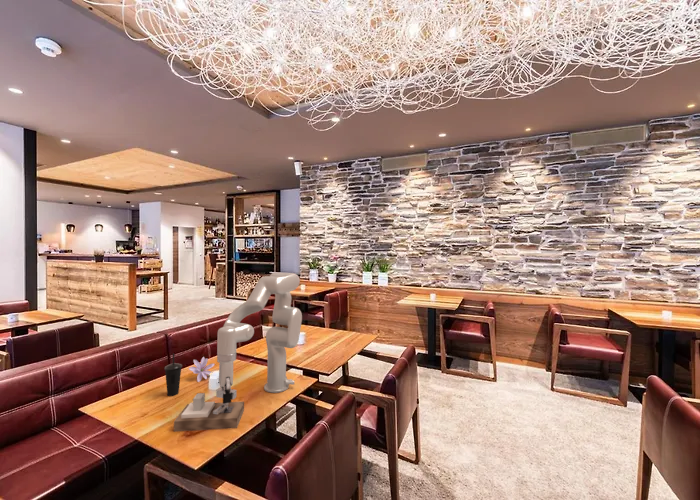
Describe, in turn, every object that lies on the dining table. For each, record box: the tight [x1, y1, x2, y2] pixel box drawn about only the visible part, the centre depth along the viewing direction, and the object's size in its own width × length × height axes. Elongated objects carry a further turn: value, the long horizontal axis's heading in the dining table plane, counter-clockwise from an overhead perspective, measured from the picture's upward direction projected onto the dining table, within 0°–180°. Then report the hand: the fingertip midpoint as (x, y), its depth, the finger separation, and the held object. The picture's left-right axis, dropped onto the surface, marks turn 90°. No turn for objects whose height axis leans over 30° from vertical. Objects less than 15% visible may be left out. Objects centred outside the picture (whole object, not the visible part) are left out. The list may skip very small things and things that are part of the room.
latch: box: [213, 387, 238, 414], centre depth 130 cm, size 8×8×8 cm
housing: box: [173, 401, 245, 433], centre depth 132 cm, size 24×14×4 cm, turn 97°
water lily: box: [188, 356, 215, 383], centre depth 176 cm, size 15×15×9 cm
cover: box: [181, 392, 216, 418], centre depth 131 cm, size 10×10×6 cm
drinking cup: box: [164, 353, 183, 397], centre depth 155 cm, size 8×8×20 cm
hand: (226, 398), depth 133 cm, fingers closed on latch, 5 cm apart
